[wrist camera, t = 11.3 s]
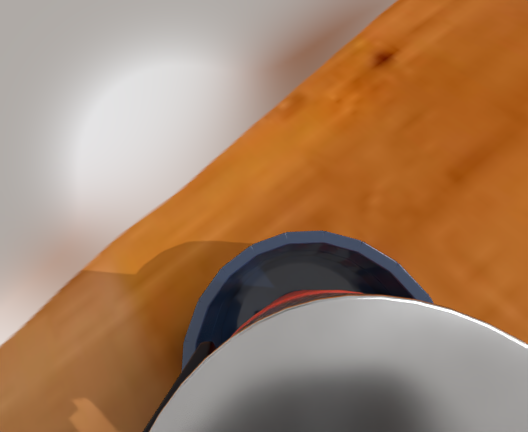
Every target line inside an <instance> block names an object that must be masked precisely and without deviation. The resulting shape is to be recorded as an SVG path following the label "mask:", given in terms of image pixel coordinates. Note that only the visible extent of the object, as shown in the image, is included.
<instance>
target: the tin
mask: <svg viewBox="0 0 528 432" xmlns="http://www.w3.org/2000/svg"><path fill="white" fill-rule="evenodd" d="M149 432H528V344H527V343H525V342H524V341H522V340H520V339H518V338H516V337H514V336H512V335H510V334H508V333H507V332H505V331H503V330H501V329H499V328H497V327H495V326H493V325H491V324H489V323H487V322H485V321H482V320H480V319H477V318H475V317H472V316H469V315H467V314H464V313H462V312H459V311H456V310H454V309H451V308H448V307H444V306H440V305H436V304H433V303H429V302H425V301H421V300H417V299H412V298H404V297H396V296H388V295H380V294H364V293H360V292H352V291H345V290H300V291H295V292H291V293H288V294H286V295H283V296H281V297H280V298H278V299H276V300H275V301H273V302H272V303H271V304H269V305H268V306H266V307H265V308H264V309H262V310H261V311H259V312H258V313H256V314H255V315H254V316H253V317H251V318H250V319H249V320H248V321H246V322H245V323H244V324H243V325H242V326H240V327H239V329H238V330H237V331H236V332H235V333H234V334H233V335H232V336H231V337H230V338H229V339H228V340H227V341H225V342H224V343H223V344H222V345H220V346H219V347H218V348H217V349H216V350H214V351H213V352H212V353H211V354H209V355H208V356H207V357H206V358H205V359H204V360H203V361H202V362H201V363H200V364H199V365H198V366H197V367H196V368H195V369H194V371H193V372H192V373H191V374H190V375H189V376H188V377H187V378H186V379H185V380H184V381H183V382H182V383H181V385H180V386H179V387H178V389H177V390H176V391H175V393H174V394H173V396H172V397H171V398H170V400H169V401H168V402H167V404H166V405H165V406H164V408H163V409H162V410H161V412H160V413H159V415H158V417H157V419H156V420H155V422H154V424H153V426H152V427H151V429H150V431H149Z"/></svg>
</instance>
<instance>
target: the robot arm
mask: <svg viewBox="0 0 528 432" xmlns="http://www.w3.org/2000/svg"><path fill="white" fill-rule="evenodd" d="M214 350H216V347H215V345H214V343H213V342H212V341H206V342H202V343H200V345H199V346H198V348H197V349H196V351H195V352H194V354H193V355H192V357H191V358H190V360H189V361H188V363H187V365H186V366H185V368H184V369H183V371H182V372H181V374H180V375H179V377H178V378H177V380H176V381H175V383H174V384H173V386H172V388H171V389H170V391H169V392H168V394H167V395H166V397H165V398H164V400H163V401H162V403H161V404H160V406H159V408H158V409H157V411H156V412H155V414H154V415H153V417H152V418H151V420H150V421H149V423H148V424H147V426H146V427H145V429H144V431H143V432H149V431H150V429H151V427H152V426H153V424H154V422H155V420H156V419H157V417H158V415H159V413H160V412H161V410H162V409H163V408H164V406H165V405H166V404H167V402H168V401H169V400H170V398H171V397H172V396H173V394H174V393H175V391H176V390H177V389H178V387H179V386H180V385H181V383H182V382H183V381H184V380H185V379H186V378H187V377H188V376H189V375H190V374H191V373H192V372H193V371H194V369H195V368H196V367H197V366H198V365H199V364H200V363H201V362H202V361H203V360H204V359H205V358H206V357H207V356H208V355H209V354H211V353H212V352H213V351H214Z"/></svg>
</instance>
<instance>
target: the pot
mask: <svg viewBox="0 0 528 432" xmlns="http://www.w3.org/2000/svg"><path fill="white" fill-rule="evenodd" d="M300 290H345V291H352V292H360V293H364V294H380V295H388V296H396V297H404V298H412V299H417V300H421V301H425V302H429V303H433V301H432V299H431V298H430V297H429V295H428V294H427V293H426V292H425V290H424V289H423V288H422V287H421V286H420V285H419V284H418V283H417V282H416V281H415V280H414V279H413V278H412V277H411V276H410V275H409V274H408V272H407V271H406V270H405V269H404V268H403V267H402V266H401V265H400V264H399V263H397V262H396V261H395V260H393V259H391V258H390V257H388V256H386V255H385V254H383V253H381V252H380V251H378V250H376V249H375V248H373V247H371V246H370V245H368V244H366V243H365V242H363V241H362V242H361V241H360V240H357V239H353V238H350V237H346V236H342V235H338V234H334V233H331V232H327V231H302V232H286V233H282V234H280V235H277V236H274V237H271V238H269V239H266V240H263V241H261V242H258V243H255V244H252V246H249V247H248V248H246V249H245V250H244V251H243V252H241V253H240V254H239V255H237V256H236V257H235V258H233V259H232V260H231V261H230V262H228V263H227V264H226V265H224V266H223V267H222V269H220V270H219V272H218V273H217V274H216V276H215V277H214V279H213V280H212V281H211V283H210V284H209V286H208V287H207V288H206V290H205V291H204V293H203V294H202V295H201V297H200V298H199V301H198V302H197V305H196V308H195V311H194V313H193V316H192V319H191V322H190V325H189V328H188V331H187V333H186V336H185V339H184V344H183V360H182V371H183V369H184V368H185V366H186V365H187V363H188V361H189V360H190V358H191V357H192V355H193V354H194V352H195V351H196V349H197V348H198V346H199V345H200V343H202V342H206V341H212V342H213V343H214V345H215V347H216V349H217V348H218V347H219V346H220V345H222V344H223V343H224V342H225V341H227V340H228V339H229V338H230V337H231V336H232V335H233V334H234V333H235V332H236V331H237V330H238V329H239V327H240V326H242V325H243V324H244V323H245V322H246V321H248V320H249V319H250V318H251V317H253V316H254V315H255V314H256V313H258V312H259V311H261V310H262V309H264V308H265V307H266V306H268V305H269V304H271V303H272V302H273V301H275V300H276V299H278V298H280V297H281V296H283V295H286V294H288V293H291V292H295V291H300ZM433 304H434V303H433Z"/></svg>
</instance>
